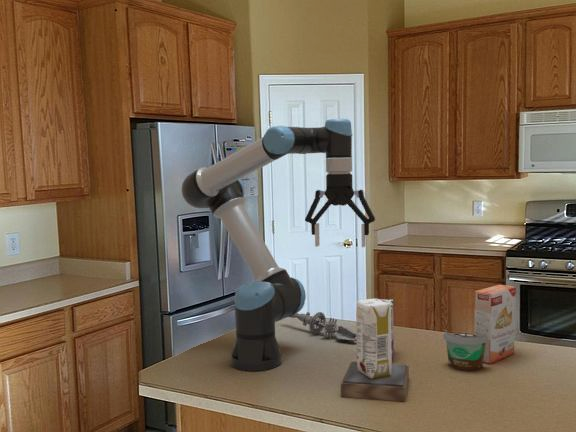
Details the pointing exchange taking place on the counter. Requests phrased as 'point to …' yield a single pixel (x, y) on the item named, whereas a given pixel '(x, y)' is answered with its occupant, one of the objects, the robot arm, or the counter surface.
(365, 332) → the juice carton
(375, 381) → the grey brown square slab
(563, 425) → the counter surface
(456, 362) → the food container
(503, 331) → the cracker box
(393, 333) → the candy bar box
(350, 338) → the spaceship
